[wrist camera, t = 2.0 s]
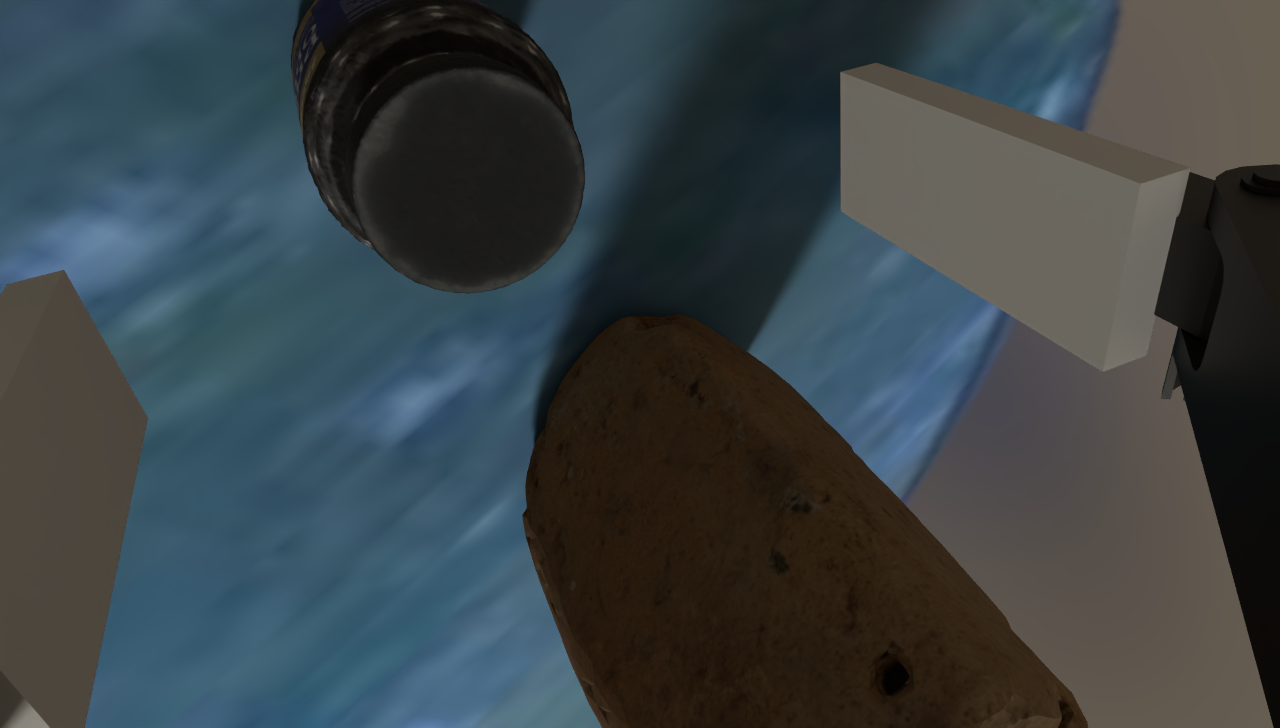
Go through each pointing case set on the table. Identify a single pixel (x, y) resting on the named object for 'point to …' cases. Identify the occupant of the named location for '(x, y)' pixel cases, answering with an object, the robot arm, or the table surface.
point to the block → (751, 558)
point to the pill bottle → (438, 137)
